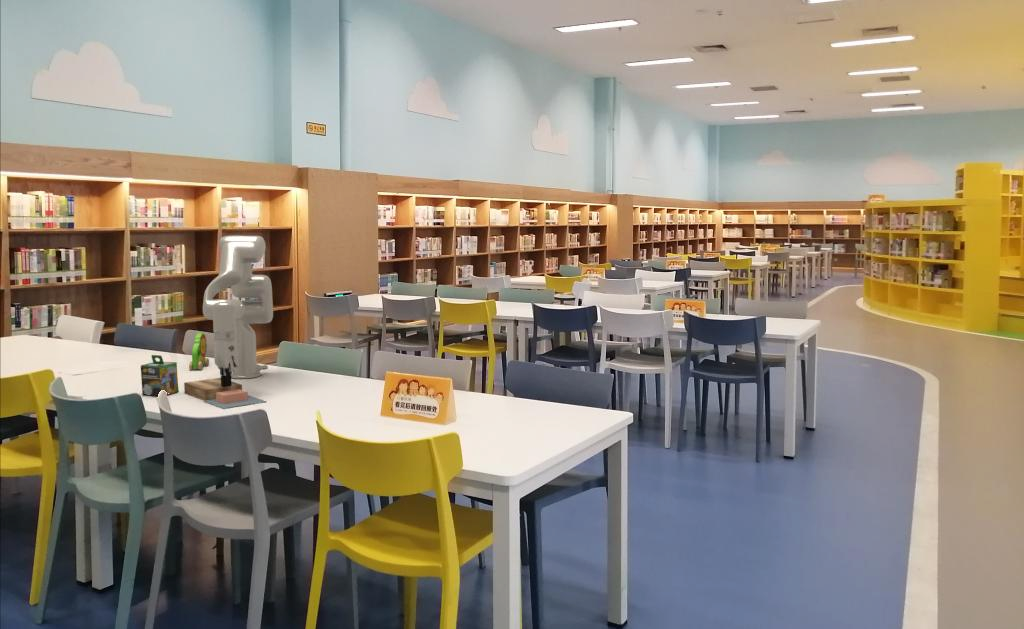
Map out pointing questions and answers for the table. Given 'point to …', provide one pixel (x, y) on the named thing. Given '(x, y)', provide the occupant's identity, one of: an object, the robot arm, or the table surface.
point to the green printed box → (159, 377)
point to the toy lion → (199, 353)
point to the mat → (234, 404)
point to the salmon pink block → (231, 396)
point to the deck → (208, 388)
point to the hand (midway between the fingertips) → (226, 386)
